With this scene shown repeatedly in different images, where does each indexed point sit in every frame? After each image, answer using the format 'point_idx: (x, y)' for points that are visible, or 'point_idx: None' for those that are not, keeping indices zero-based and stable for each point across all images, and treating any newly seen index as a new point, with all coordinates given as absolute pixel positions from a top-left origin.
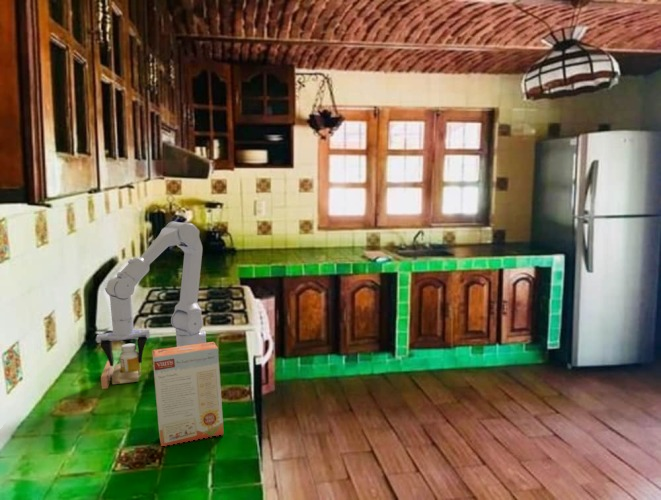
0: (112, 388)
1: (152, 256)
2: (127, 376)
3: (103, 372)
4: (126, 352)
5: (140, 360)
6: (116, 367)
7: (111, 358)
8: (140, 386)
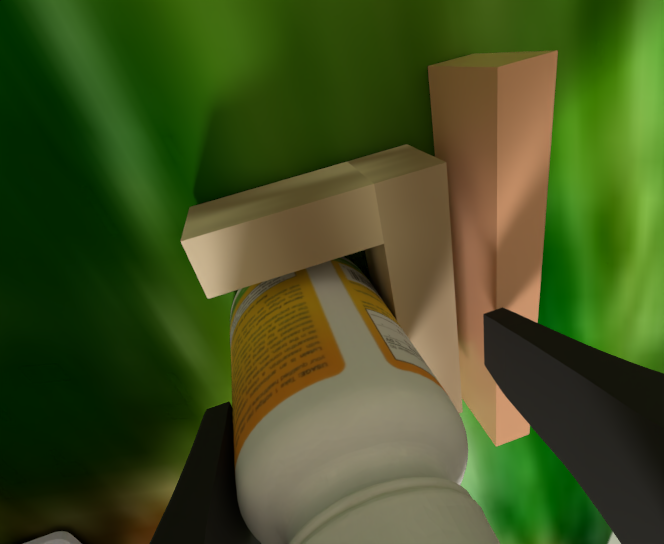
0: (383, 61)
1: None
2: (286, 199)
3: (539, 201)
4: (390, 477)
5: (206, 426)
6: (443, 355)
7: (547, 359)
8: (107, 94)
